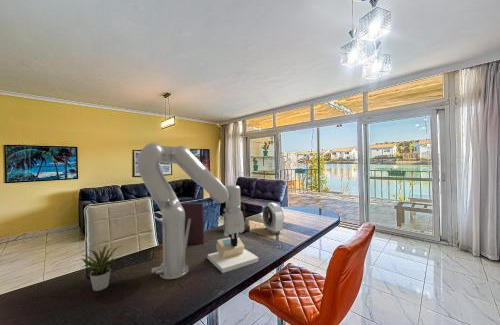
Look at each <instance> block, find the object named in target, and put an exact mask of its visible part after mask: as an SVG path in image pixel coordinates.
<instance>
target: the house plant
mask: <svg viewBox="0 0 500 325" xmlns="http://www.w3.org/2000/svg"><path fill="white" fill-rule="evenodd" d="M107 246H108V244H106V245H104V247H103V248H102V250H101V249H100V248H98V249H99V254H98V253H97V251H95V250H92V249H89V252H90V253H92V254H93V255H94V257H95V259H93V258H91V257H90V256H88V255H85V254H81V256H83V257H86V258H87V259H86V258H81V260H82V261H83V262H84V264H85V265H83V267H87V269H92V270H90V272H89V276H90V278H89V279H90V282H91V287H92V291H95V292H98V291H102V290H104V289H107V287H109V282H110V276H111V271H112V269H111V267H110V266H111V265H113V264H115V263H116V262H115V260H117V259H116V258H111V257H112V256H113V255H114V254H115V253H116V252H115V251H116V250H117V249H119V248H120V247H122V245H120V246H117V247H115V248H111V247H110V248H109V249H107ZM112 249H113V250H112ZM106 250H107V251H106ZM110 250H112V251H111V252H110ZM105 253H106V254H105ZM110 258H111V259H110ZM109 259H110V260H109Z"/></svg>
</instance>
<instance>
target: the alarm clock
mask: <svg viewBox="0 0 500 325" xmlns="http://www.w3.org/2000/svg"><path fill="white" fill-rule="evenodd" d="M262 218H263V226H264V227H265V230H266V231H268V232H269V233H271V234H274V235H275V234H280V233H281V232H282V231H283V230H284V229H283V228H284V218H285V216H284V211H283V208H282V207H281V206H280V205H279V204H278V203H275V202H269V203H267V205H264V207H263V209H262Z"/></svg>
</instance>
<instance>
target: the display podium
mask: <svg viewBox="0 0 500 325" xmlns="http://www.w3.org/2000/svg"><path fill="white" fill-rule="evenodd" d="M207 260H209V262H210V263H212V264H213V265H214V267H216V268H217V269H218V270H219V271H220V272H221V273H222V274H225V273H227V272H230V271H235V270H237V269H239V268H240V269H241V268H242V267H245V266H249V265H252V264H254V263H255V264H256V263H258V262H259V260H260V258H259V256H257V255H256V254H254V253H252V252H250V251H249V250H248V249H245V248H244V250H243V253H242V254H238V255H235V256H231V257H228V258H224V259H222V258H221V256H220V254H219V253H218V251H217V252H213V253H208V254H207Z"/></svg>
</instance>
